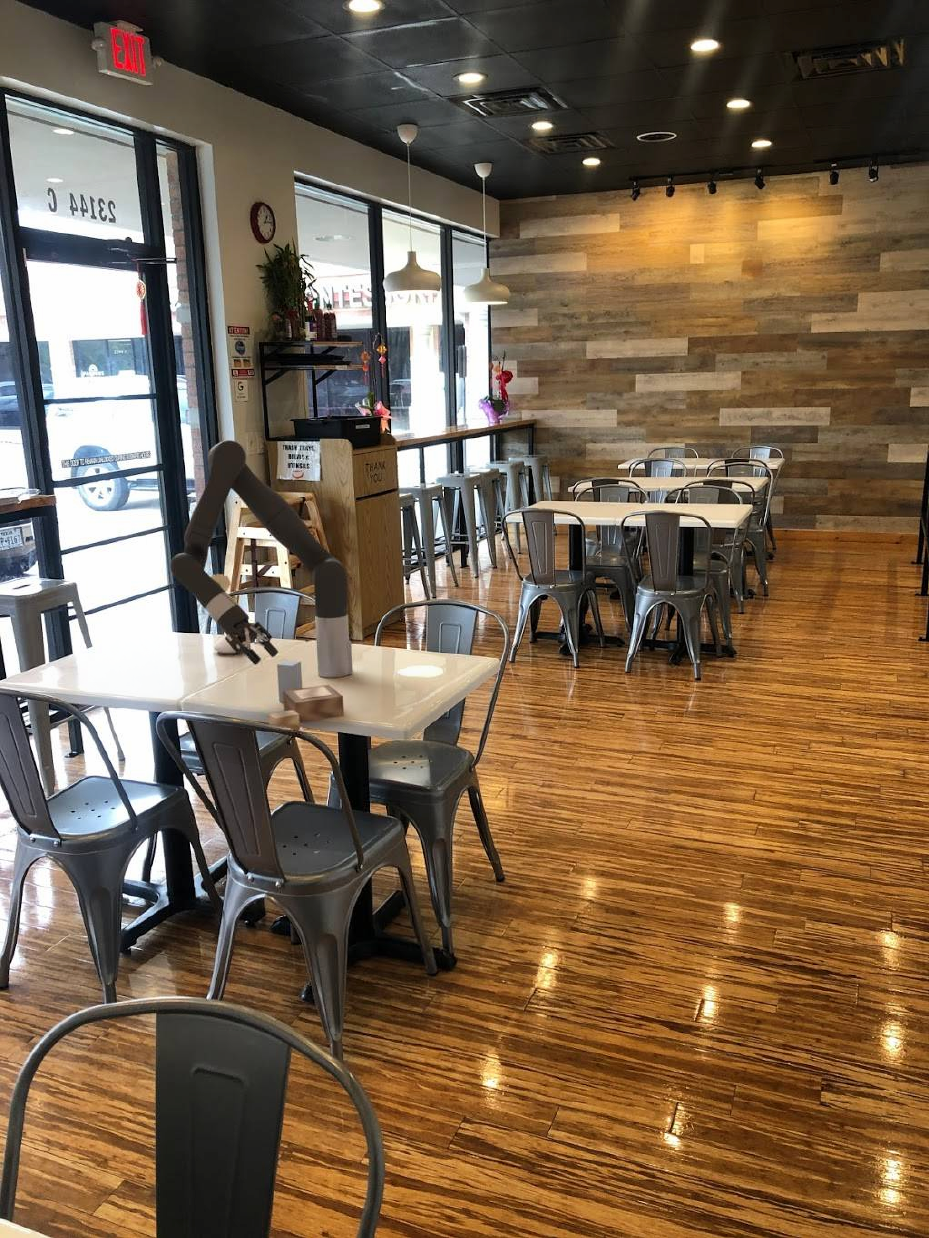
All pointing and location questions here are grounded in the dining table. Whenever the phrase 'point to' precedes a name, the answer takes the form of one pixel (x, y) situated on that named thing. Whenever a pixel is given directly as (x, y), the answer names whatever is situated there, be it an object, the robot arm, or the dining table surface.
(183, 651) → the dining table surface
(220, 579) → the flower in vase
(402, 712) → the dining table surface
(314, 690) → the plinth
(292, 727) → the oak block
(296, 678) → the pillar
